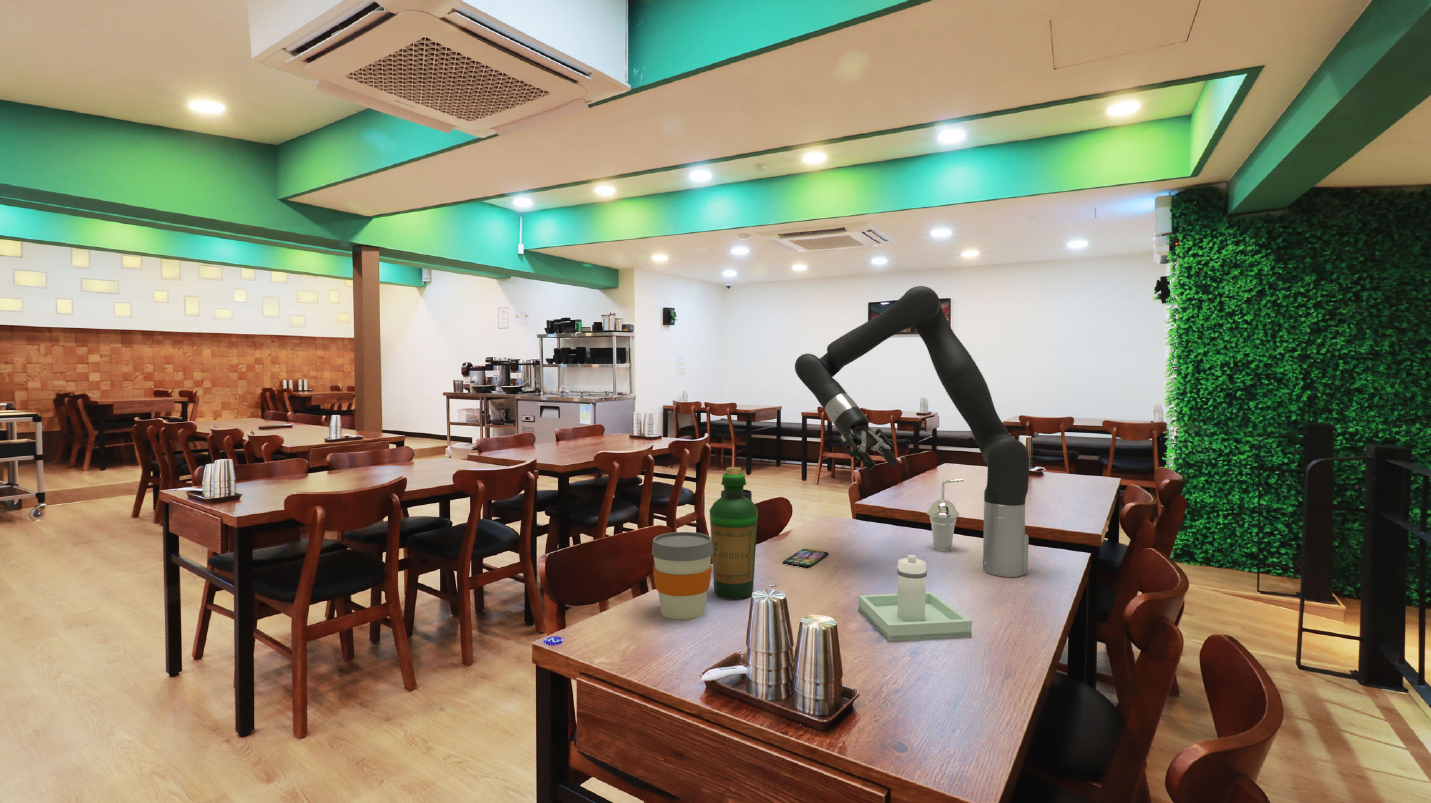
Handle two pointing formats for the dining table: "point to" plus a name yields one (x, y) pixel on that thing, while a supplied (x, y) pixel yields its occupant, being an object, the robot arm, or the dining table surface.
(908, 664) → the dining table surface
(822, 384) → the robot arm
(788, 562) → the smartphone
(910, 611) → the white capped canister
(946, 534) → the cup with straw
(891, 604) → the pale green rectangular tray
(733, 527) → the bottle
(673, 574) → the reusable coffee cup
